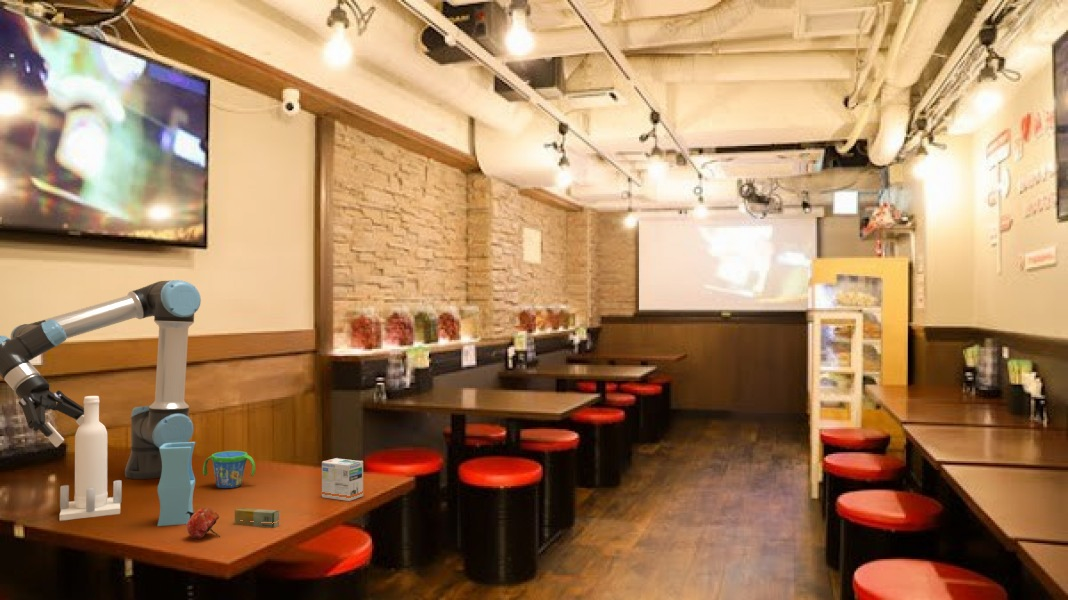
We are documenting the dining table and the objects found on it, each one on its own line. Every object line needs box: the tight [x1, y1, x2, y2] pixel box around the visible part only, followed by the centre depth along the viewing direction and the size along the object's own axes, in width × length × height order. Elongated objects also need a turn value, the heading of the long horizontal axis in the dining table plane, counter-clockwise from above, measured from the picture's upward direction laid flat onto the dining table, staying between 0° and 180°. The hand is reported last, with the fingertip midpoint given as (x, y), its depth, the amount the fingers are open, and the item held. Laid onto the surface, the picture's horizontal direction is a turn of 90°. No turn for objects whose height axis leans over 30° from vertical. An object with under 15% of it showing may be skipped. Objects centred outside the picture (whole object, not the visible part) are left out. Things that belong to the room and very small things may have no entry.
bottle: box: [73, 395, 109, 509], centre depth 207 cm, size 8×8×30 cm
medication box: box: [233, 507, 280, 529], centre depth 195 cm, size 12×3×4 cm, turn 76°
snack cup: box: [202, 450, 256, 489], centre depth 235 cm, size 16×10×10 cm
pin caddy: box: [59, 479, 123, 522], centre depth 207 cm, size 15×15×8 cm
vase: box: [157, 441, 196, 527], centre depth 198 cm, size 8×8×20 cm
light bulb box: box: [321, 457, 364, 502], centre depth 223 cm, size 11×7×11 cm, turn 65°
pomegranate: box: [185, 507, 221, 540], centre depth 185 cm, size 7×7×10 cm
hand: (78, 439), depth 207 cm, fingers open, 13 cm apart
